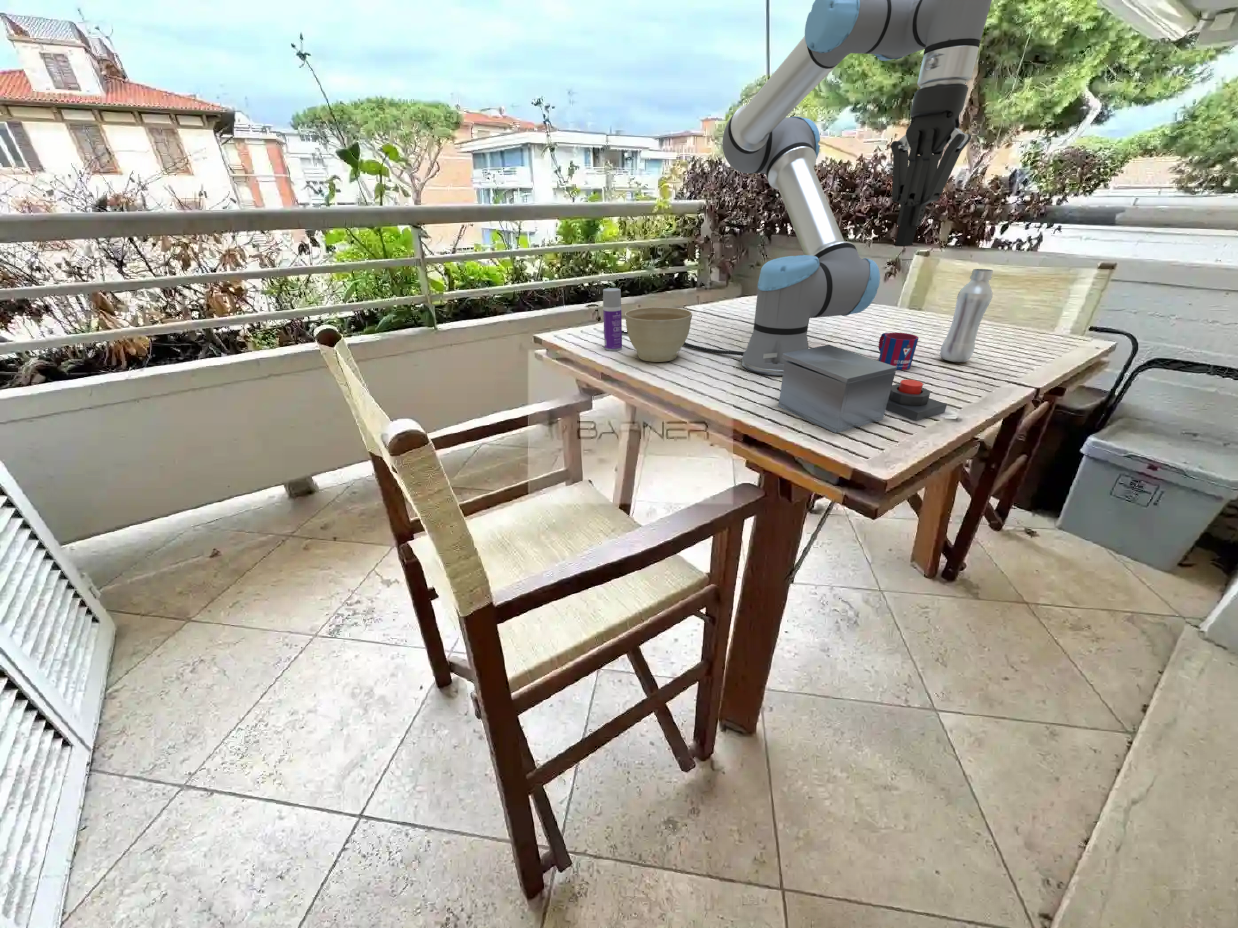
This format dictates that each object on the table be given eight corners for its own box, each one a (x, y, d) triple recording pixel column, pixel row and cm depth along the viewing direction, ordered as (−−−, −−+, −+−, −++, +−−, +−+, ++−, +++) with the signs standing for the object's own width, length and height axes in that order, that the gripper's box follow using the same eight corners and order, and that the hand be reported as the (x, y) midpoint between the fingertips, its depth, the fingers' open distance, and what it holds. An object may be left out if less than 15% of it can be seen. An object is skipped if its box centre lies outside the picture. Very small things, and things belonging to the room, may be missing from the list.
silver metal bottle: (960, 357, 116) (990, 267, 106) (975, 365, 110) (1008, 272, 100) (932, 356, 116) (958, 268, 107) (945, 365, 110) (975, 272, 101)
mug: (886, 370, 108) (894, 340, 105) (866, 357, 117) (872, 329, 113) (916, 370, 108) (925, 339, 105) (893, 357, 117) (900, 328, 113)
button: (893, 390, 89) (896, 381, 88) (906, 387, 90) (909, 378, 89) (911, 396, 86) (914, 387, 85) (924, 393, 87) (927, 383, 86)
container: (615, 351, 126) (614, 291, 119) (601, 349, 128) (598, 290, 121) (625, 347, 129) (624, 288, 122) (610, 345, 132) (609, 287, 124)
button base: (866, 403, 92) (870, 385, 90) (894, 395, 95) (899, 378, 93) (915, 421, 84) (921, 403, 82) (944, 412, 87) (950, 394, 85)
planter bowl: (703, 358, 119) (706, 313, 114) (652, 371, 111) (653, 323, 106) (661, 345, 131) (662, 303, 125) (612, 356, 123) (611, 312, 117)
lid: (781, 357, 87) (782, 353, 87) (828, 348, 92) (829, 344, 91) (846, 383, 76) (847, 378, 76) (895, 371, 81) (897, 367, 80)
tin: (777, 406, 91) (784, 361, 87) (822, 395, 96) (831, 352, 91) (835, 433, 80) (846, 383, 76) (882, 420, 85) (895, 371, 81)
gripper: (890, 92, 82) (859, 244, 93) (968, 76, 72) (923, 249, 83) (919, 95, 85) (886, 242, 96) (998, 80, 74) (950, 246, 86)
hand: (903, 245), depth 90 cm, fingers closed
